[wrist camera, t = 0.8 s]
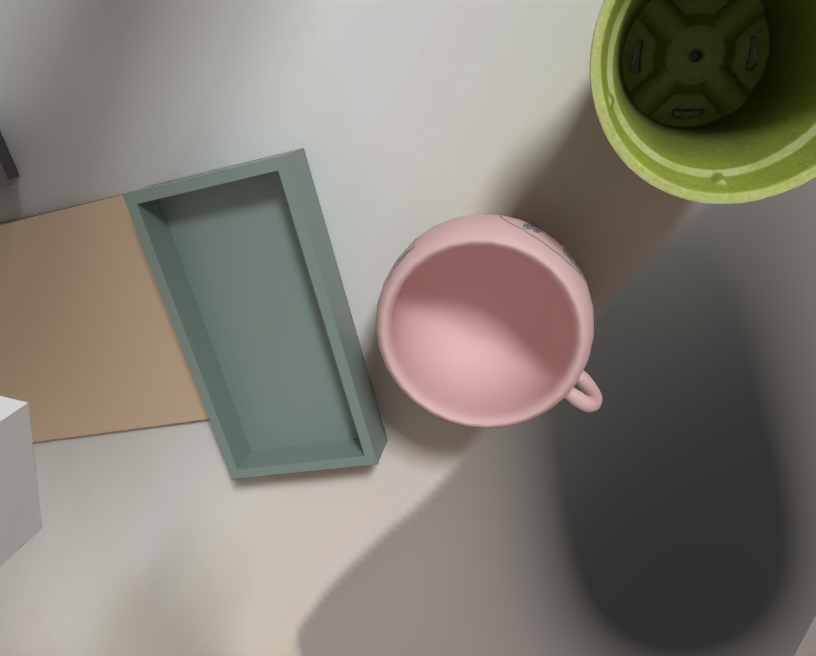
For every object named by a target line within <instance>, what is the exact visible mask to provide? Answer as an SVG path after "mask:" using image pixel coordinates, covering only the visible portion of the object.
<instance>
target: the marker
mask: <svg viewBox="0 0 816 656" xmlns="http://www.w3.org/2000/svg"><path fill="white" fill-rule="evenodd" d="M18 176H19V174H18V172H17V169H16V167H15V165H14V162H13V160H12V158H11V155H10V153H9V151H8V148H7V146H6V144H5V141H4V139H3V137H2V135H1V132H0V187H1V186H5V185H8V184H10V182H9V180H8V179H11V178H14V177H18Z"/></svg>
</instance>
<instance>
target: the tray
mask: <svg viewBox="0 0 816 656" xmlns="http://www.w3.org/2000/svg"><path fill="white" fill-rule="evenodd" d="M123 197H124V200H125V203H126V205H127V208H128V211H129V213H130V216H131V218H132V221H133V224H134V226H135V229H136V231H137V234H138V237H139V239H140V242H141V244H142V247H143V250H144V252H145V255H146V257H147V260H148V263H149V265H150V268H151V270H152V273H153V276H154V278H155V281H156V283H157V286H158V289H159V291H160V294H161V296H162V299H163V302H164V304H165V307H166V309H167V312H168V315H169V317H170V320H171V322H172V325H173V328H174V330H175V333H176V335H177V338H178V341H179V343H180V346H181V348H182V351H183V354H184V356H185V359H186V361H187V364H188V367H189V369H190V372H191V375H192V377H193V380H194V382H195V385H196V388H197V390H198V393H199V395H200V398H201V401H202V403H203V406H204V408H205V411H206V414H207V416H208V419H209V421H210V424H211V427H212V429H213V432H214V434H215V437H216V440H217V442H218V445H219V447H220V450H221V453H222V455H223V458H224V460H225V463H226V466H227V468H228V471H229V473H230V476H231V479H238V478H248V477H257V476H267V475H277V474H286V473H296V472H306V471H315V470H325V469H335V468H344V467H354V466H364V465H373V464H378V461H379V459H380V457H381V454H382V452H383V450H384V447H385V445H386V442H387V437H386V434H385V431H384V427H383V424H382V420H381V417H380V413H379V410H378V406H377V403H376V399H375V396H374V392H373V389H372V385H371V382H370V378H369V375H368V371H367V368H366V364H365V361H364V357H363V354H362V350H361V347H360V343H359V340H358V336H357V333H356V329H355V326H354V322H353V319H352V315H351V312H350V308H349V305H348V301H347V298H346V295H345V291H344V288H343V284H342V281H341V277H340V274H339V270H338V267H337V263H336V260H335V256H334V253H333V249H332V246H331V242H330V239H329V235H328V232H327V228H326V225H325V221H324V218H323V214H322V211H321V207H320V204H319V200H318V197H317V193H316V190H315V186H314V183H313V179H312V176H311V172H310V169H309V165H308V162H307V159H306V155H305V152H304V148H303V149H299V150H295V151H291V152H287V153H282V154H278V155H274V156H270V157H266V158H262V159H258V160H254V161H250V162H246V163H242V164H238V165H234V166H230V167H225V168H221V169H217V170H213V171H209V172H205V173H201V174H197V175H193V176H189V177H185V178H181V179H177V180H173V181H168V182H164V183H160V184H156V185H152V186H148V187H145V188H142V189H139V190H136V191H133V192H130V193H127V194H124V195H123Z"/></svg>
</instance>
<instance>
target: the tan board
mask: <svg viewBox="0 0 816 656" xmlns="http://www.w3.org/2000/svg"><path fill="white" fill-rule="evenodd" d="M123 195H124V194H123ZM123 195H119V196H115V197H111V198H107V199H103V200H99V201H95V202H91V203H87V204H83V205H78V206H74V207H70V208H66V209H62V210H58V211H54V212H50V213H46V214H42V215H38V216H34V217H29V218H25V219H21V220H17V221H13V222H9V223H5V224H1V225H0V396H3V397H7V398H11V399H15V400H19V401H24V402H28V405H29V414H30V423H31V432H32V441H33V442H38V441H46V440H54V439H61V438H69V437H76V436H84V435H91V434H99V433H107V432H114V431H122V430H129V429H137V428H144V427H152V426H159V425H167V424H175V423H182V422H190V421H197V420H205V419H208V416H207V414H206V411H205V408H204V406H203V403H202V401H201V398H200V395H199V393H198V390H197V388H196V385H195V382H194V380H193V377H192V375H191V372H190V369H189V367H188V364H187V361H186V359H185V356H184V354H183V351H182V348H181V346H180V343H179V341H178V338H177V335H176V333H175V330H174V328H173V325H172V322H171V320H170V317H169V315H168V312H167V309H166V307H165V304H164V302H163V299H162V296H161V294H160V291H159V289H158V286H157V283H156V281H155V278H154V276H153V273H152V270H151V268H150V265H149V263H148V260H147V257H146V255H145V252H144V250H143V247H142V244H141V242H140V239H139V237H138V234H137V231H136V229H135V226H134V224H133V221H132V218H131V216H130V213H129V211H128V208H127V205H126V203H125V200H124V197H123Z"/></svg>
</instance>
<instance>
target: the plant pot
mask: <svg viewBox="0 0 816 656" xmlns="http://www.w3.org/2000/svg"><path fill="white" fill-rule="evenodd" d="M752 36H754V38H755V39H756V40H757V44H758V57H757V61H756V64H755V66H754V67H753V69H752V70H751V71H746V69H745V66H746V64H747V60H748V56H749V51H750V44H751V43H752V42H751V38H752ZM639 40H642V41H643V47H642V52H641V57H640V66H641V70H640V72H639V73H638V74H636V73H635V72H633V69H632V67H631V65H632V59H633V50H634V47H635V44H636V42H638V41H639ZM692 50H700V51H701V53H702V58H701V59H700V60H699V61H697V62H693V61H691V60H690V59H689V54H690V53H691V52H692ZM590 83H591V91H592V97H593V102H594V106H595V110H596V114H597V117H598V120H599V123H600V125H601V127H602V130H603V132H604V134H605V136H606V138H607V140H608V141H609V143H610V145H611V146H612V148H613V149H614V151H615V152H616V154H617V155H618V156H619V157H620V159H621V160H622V161H623V162H624V163H625V164H626V166H627V167H628V168H630V169H631V170H632V171H633V172H634V173H635V174H636V175H637V176H639V177H640V178H641V179H643V180H644V181H645V182H647V183H648V184H650V185H651V186H653V187H655V188H657V189H659V190H661V191H663V192H665V193H667V194H670V195H672V196H675V197H678V198H682V199H685V200H689V201H695V202H700V203H711V204H737V203H746V202H752V201H757V200H761V199H765V198H769V197H772V196H775V195H778V194H781V193H784V192H786V191H789V190H791V189H794V188H796V187H798V186H800V185H802V184H804V183H806V182H808V181H810V180H812V179H813V178H815V177H816V0H689V1H685V0H604V2H603V4H602V7H601V9H600V12H599V15H598V19H597V22H596V25H595V29H594V34H593V39H592V45H591V54H590ZM673 109H685V110H692V109H694V110H696V109H704V112H703V113H702V114H701V115H700V116H696V117H684V118H681V117H676V116H675V115H674V114H673V113H672V110H673Z"/></svg>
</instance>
